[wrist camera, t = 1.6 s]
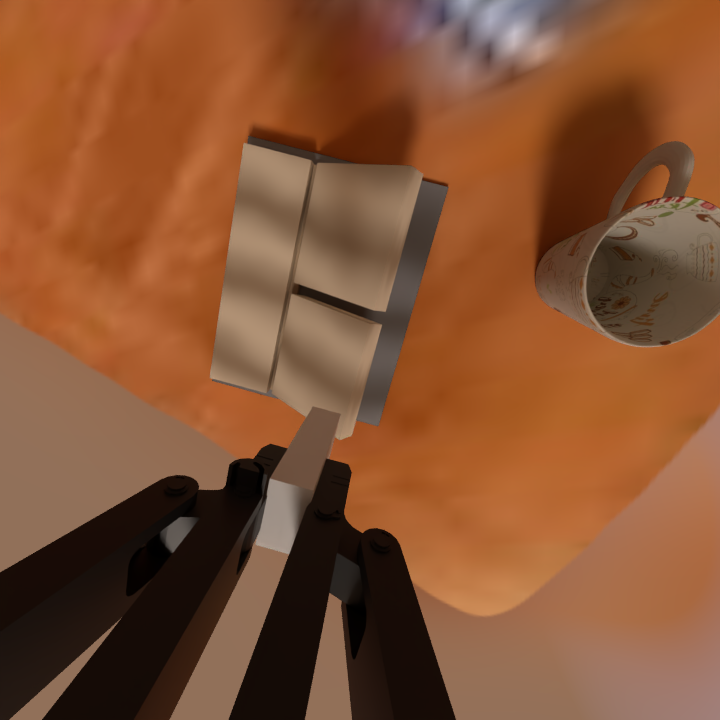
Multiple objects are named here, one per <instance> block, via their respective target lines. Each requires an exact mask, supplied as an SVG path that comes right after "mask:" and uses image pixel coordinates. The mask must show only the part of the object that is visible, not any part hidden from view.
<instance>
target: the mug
mask: <svg viewBox="0 0 720 720" xmlns="http://www.w3.org/2000/svg"><path fill="white" fill-rule="evenodd" d="M661 164H663V165H666V166H667V167H668V169H669V172H670V177H669V181H668V184H667V187H666V190H665V192H664V195H663V197H662V198H658V199H654V200H650V201H647V202H644V203H641V204H639V205H636V206H634V207H631V208H629V209H627V210H625V211H623V212H621V210H622V208H623V206H624V204H625V202H626V200H627V198H628V197H629V195H630V193H631V191H632V190H633V188H634V187H635V185H636V184H637V183H638V182H639V181H640V179H641V178H642V177H643V176H644V175H645V174H646V173H648V172H649V171H650V170H651V169H652V168H654V167H656V166H658V165H661ZM693 168H694V155H693V152H692V151H691V149H690V148H689V147H688V146H687V145H686V144H684V143H682V142H677V141H674V142H668V143H665V144H662V145H660V146H658V147H657V148H655V149H653V150H652V151H651V152H649V153H648V154H647V155H646V156H644V157H643V158H642V159H641V160H640V161H639V162H638V163H637V165H636V166H635V167H634V168H633V169H632V171H631V172H630V173H629V175H628V176H627V178H626V179H625V181H624V182H623V184H622V185H621V187H620V188H619V190H618V191H617V192H616V194H615V196H614V198H613V200H612V202H611V205H610V208H609V212H608V215H607V219H606V220H604V221H602V222H600V223H598V224H596V225H594V226H592V227H590V228H588V229H586V230H584V231H582V232H579V233H577V234H575V235H573V236H571V237H569V238H567V239H565V240H563V241H561V242H559V243H557V244H556V245H554V246H553V247H552V248H550V249H549V250H548V251H547V252H546V253H545V255H544V256H543V257H542V259H541V260H540V262H539V265H538V267H537V270H536V276H535V284H536V289H537V292H538V294H539V296H540V297H541V299H542V300H543V301H544V302H545V303H546V304H547V305H548V306H550V307H551V308H553V309H555V310H557V311H559V312H561V313H562V314H564V315H566V316H568V317H570V318H572V319H574V320H576V321H577V322H579V323H581V324H583V325H585V326H587V327H589V328H591V329H592V330H594V331H596V332H598V333H600V334H602V335H604V336H606V337H608V338H610V339H612V340H614V341H617V342H620V343H622V344H626V345H630V346H637V347H658V346H664V345H669V344H673V343H676V342H679V341H681V340H684V339H686V338H688V337H690V336H692V335H694V334H696V333H697V332H699V331H700V330H702V329H703V328H705V327H706V326H707V325H709V324H710V323H711V322H712V321H713V320H714V319H715V318H716V317H717V316H718V315H719V314H720V209H719V208H718V207H716V206H715V205H713V204H711V203H709V202H707V201H704V200H701V199H697V198H692V197H684V194H685V192H686V189H687V187H688V184H689V181H690V179H691V175H692V172H693ZM620 212H621V213H620Z"/></svg>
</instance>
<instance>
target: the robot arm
mask: <svg viewBox="0 0 720 720" xmlns="http://www.w3.org/2000/svg"><path fill="white" fill-rule="evenodd" d="M340 415H341V414H339V413H336V412H332V411H328V410H325V409H321V408H317V407H314V406H313V407H312V409H311V410H310V412H309V414H308V415H307V417H306V419H305V420H304V422H303V424H302V425H301V427H300V429H299V430H298V432H297V434H296V436H295V437H294V439H293V441H292V442H291V444H290V446H289V447H288V449H287V448H284V447H280V446H276V445H273V444H269V445H267V446H265V447H263V448H261V450H260V451H259V452H258V454H257V455H256V456H255V458H254V459H250V458H245V459H239V460H235V461H234V462H232V463H231V464H230V465H229V470H228V476H227V482H226V486H225V487H224V488H223V489H221V490H198V489H199V485H198V483H197V481H196V480H194V479H193V478H191V477H188V476H183V475H182V476H181V475H175V476H170V477H166V478H164V479H161V480H159V481H158V482H156V483H154V484H152V485H151V486H149V487H147V488H145V489H144V490H142V491H140V492H139V493H137V494H135V495H133V496H132V497H130V498H128V499H127V500H125V501H123V502H121V503H120V504H118V505H116V506H114V507H113V508H111V509H109V510H107V511H106V512H104V513H102V514H100V515H99V516H97V517H95V518H94V519H92V520H90V521H89V522H87V523H85V524H83V525H81V526H80V527H78V528H76V529H75V530H73V531H71V532H70V533H68V534H66V535H64V536H62V537H61V538H59V539H57V540H56V541H54V542H52V543H51V544H49V545H47V546H45V547H43V548H42V549H40V550H38V551H36V552H35V553H33V554H31V555H30V556H28V557H26V558H24V559H23V560H21V561H19V562H18V563H16V564H14V565H12V566H11V567H9V568H7V569H5V570H4V571H2V572H0V720H9V719H10V718H11V717H13V715H15V714H16V713H17V712H18V711H19V710H20V709H21V708H22V707H24V706H25V705H26V704H27V703H28V702H29V701H30V700H31V699H32V698H33V697H35V696H36V695H37V694H38V693H39V692H40V691H41V690H42V689H43V688H45V687H46V686H47V685H48V684H49V683H50V682H51V681H52V680H53V679H54V678H56V677H57V676H58V675H59V674H60V673H61V672H62V671H63V670H64V669H65V668H67V666H69V665H70V664H71V663H72V662H73V661H74V660H75V659H76V658H77V657H79V656H80V655H81V654H82V653H83V652H84V651H85V650H86V649H88V648H89V647H90V646H91V645H92V644H93V643H94V642H95V641H96V640H97V639H99V638H100V637H101V636H102V635H103V634H104V633H105V632H106V631H107V630H108V629H110V628H111V626H113V625H114V624H115V623H116V622H117V621H118V620H120V619H121V620H120V621H119V622H118V624H117V625H116V626H115V627H114V629H113V630H112V631H111V632H110V634H109V635H108V636H107V637H106V639H105V640H104V641H103V643H102V644H101V645H100V646H99V648H98V649H97V650H96V652H95V653H94V654H93V655H92V657H91V658H90V659H89V661H88V662H87V663H86V664H85V666H84V667H83V668H82V669H81V671H80V672H79V673H78V674H77V676H76V677H75V678H74V680H73V681H72V683H70V685H69V686H68V687H67V689H66V690H65V691H64V692H63V694H62V695H61V696H60V697H59V699H58V700H57V701H56V703H55V704H54V705H53V706H52V708H51V709H50V710H49V711H48V713H47V714H46V715H45V717H44V718H43V719H42V720H169V719H170V717H171V715H172V713H173V711H174V709H175V707H176V705H177V703H178V701H179V699H180V697H181V695H182V693H183V691H184V689H185V687H186V685H187V683H188V681H189V679H190V677H191V675H192V673H193V671H194V669H195V667H196V665H197V663H198V661H199V659H200V657H201V655H202V653H203V651H204V649H205V647H206V645H207V643H208V641H209V639H210V637H211V635H212V633H213V631H214V628H215V627H216V624H217V623H218V621H219V618H220V617H221V614H222V612H223V610H224V608H225V606H226V604H227V602H228V600H229V598H230V596H231V594H232V592H233V590H234V588H235V586H236V584H237V582H238V580H239V578H240V576H241V574H242V572H243V570H244V568H245V566H246V564H247V562H248V560H249V558H250V554H251V550H252V546H253V543H254V541H255V539H256V537H257V541H256V545H258V546H262V547H265V548H269V549H273V550H276V551H280V552H283V553H287V554H289V556H288V559H287V562H286V564H285V567H284V570H283V573H282V576H281V578H280V581H279V584H278V586H277V589H276V592H275V594H274V597H273V600H272V603H271V606H270V608H269V611H268V614H267V616H266V619H265V622H264V624H263V628H262V630H261V633H260V635H259V638H258V641H257V644H256V646H255V649H254V652H253V655H252V657H251V660H250V663H249V665H248V668H247V671H246V674H245V676H244V679H243V682H242V685H241V688H240V690H239V693H238V695H237V698H236V701H235V704H234V706H233V709H232V712H231V715H230V717H229V720H305V716H306V710H307V705H308V700H309V695H310V689H311V684H312V680H313V674H314V669H315V664H316V659H317V654H318V649H319V643H320V638H321V633H322V628H323V623H324V617H325V612H326V607H327V602H328V596H329V593H331V594H332V595H334V596H335V597H337V598H338V599H340V600H341V601H342V604H341V609H342V617H343V618H342V619H343V629H344V640H345V650H346V660H347V670H348V681H349V691H350V702H351V711H352V720H456V719H455V715H454V712H453V709H452V706H451V703H450V700H449V696H448V693H447V691H446V687H445V684H444V681H443V678H442V675H441V672H440V668H439V666H438V662H437V659H436V656H435V653H434V650H433V647H432V644H431V640H430V637H429V634H428V631H427V628H426V625H425V622H424V618H423V615H422V612H421V609H420V606H419V603H418V600H417V597H416V593H415V590H414V587H413V584H412V581H411V578H410V575H409V572H408V568H407V565H406V562H405V559H404V556H403V553H402V550H401V547H400V544H399V543H398V541H397V539H396V538H395V537H394V536H393V535H392V534H390V533H388V532H387V531H385V530H382V529H378V528H374V529H368V530H366V531H364V533H361V532H360V531H358V530H356V529H355V528H353V527H352V526H351V525H350V524H349V523H348V521H347V520H346V518H345V515H344V509H345V504H346V498H347V493H348V488H349V483H350V478H351V473H352V472H351V470H350V467H349V465H348V464H345V463H341V462H338V461H334V460H330V459H329V458H330V454H331V450H332V446H333V442H334V438H335V435H336V431H337V427H338V423H339V419H340ZM257 535H258V536H257Z"/></svg>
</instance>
